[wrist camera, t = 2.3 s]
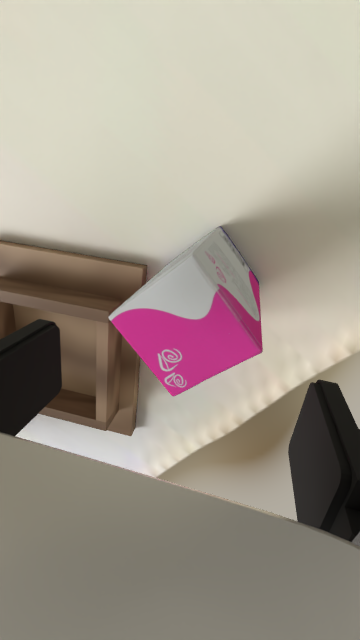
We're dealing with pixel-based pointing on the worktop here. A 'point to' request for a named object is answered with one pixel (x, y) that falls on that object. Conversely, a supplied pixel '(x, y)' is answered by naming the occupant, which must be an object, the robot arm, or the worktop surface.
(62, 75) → the worktop surface
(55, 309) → the holder
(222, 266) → the supplement box
